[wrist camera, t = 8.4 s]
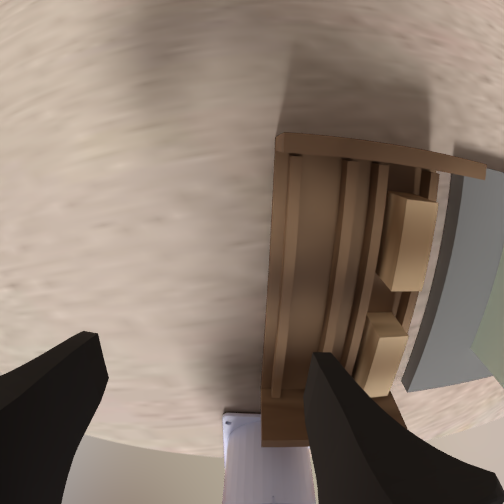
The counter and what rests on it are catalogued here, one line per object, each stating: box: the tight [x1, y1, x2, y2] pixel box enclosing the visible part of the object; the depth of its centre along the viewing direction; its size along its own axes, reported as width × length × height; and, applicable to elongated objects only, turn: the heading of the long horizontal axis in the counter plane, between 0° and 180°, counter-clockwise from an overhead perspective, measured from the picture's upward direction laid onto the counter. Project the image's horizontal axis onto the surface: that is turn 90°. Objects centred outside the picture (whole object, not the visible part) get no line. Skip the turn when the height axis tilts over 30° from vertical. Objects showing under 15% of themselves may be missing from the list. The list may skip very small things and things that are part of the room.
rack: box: [261, 132, 487, 447], centre depth 17 cm, size 18×10×6 cm, turn 178°
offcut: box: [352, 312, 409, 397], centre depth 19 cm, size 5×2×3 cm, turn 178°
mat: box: [401, 168, 504, 392], centre depth 19 cm, size 18×12×2 cm, turn 178°
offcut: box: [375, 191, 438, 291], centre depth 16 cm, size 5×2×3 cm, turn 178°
